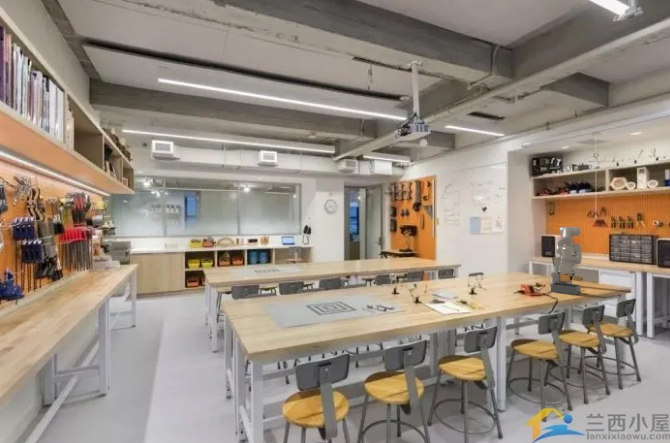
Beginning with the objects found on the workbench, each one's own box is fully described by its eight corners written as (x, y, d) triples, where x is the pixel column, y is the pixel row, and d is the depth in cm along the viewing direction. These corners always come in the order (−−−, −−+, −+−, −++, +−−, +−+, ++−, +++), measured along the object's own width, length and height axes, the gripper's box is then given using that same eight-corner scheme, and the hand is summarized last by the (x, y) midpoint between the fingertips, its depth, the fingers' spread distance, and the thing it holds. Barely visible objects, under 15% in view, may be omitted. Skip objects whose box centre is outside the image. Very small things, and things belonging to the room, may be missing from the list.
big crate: (555, 289, 333) (555, 282, 333) (580, 292, 319) (580, 285, 319) (550, 292, 320) (550, 284, 320) (576, 295, 306) (576, 287, 306)
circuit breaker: (568, 289, 333) (568, 273, 333) (551, 287, 340) (551, 272, 339) (567, 287, 340) (567, 272, 340) (550, 286, 346) (550, 271, 346)
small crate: (562, 280, 325) (562, 273, 325) (571, 281, 320) (571, 274, 320) (560, 281, 318) (560, 274, 318) (569, 282, 313) (569, 275, 313)
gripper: (578, 261, 316) (578, 280, 316) (556, 259, 328) (555, 278, 328) (576, 261, 310) (576, 281, 310) (554, 259, 322) (553, 279, 322)
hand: (565, 279), depth 319 cm, fingers closed on small crate, 7 cm apart
